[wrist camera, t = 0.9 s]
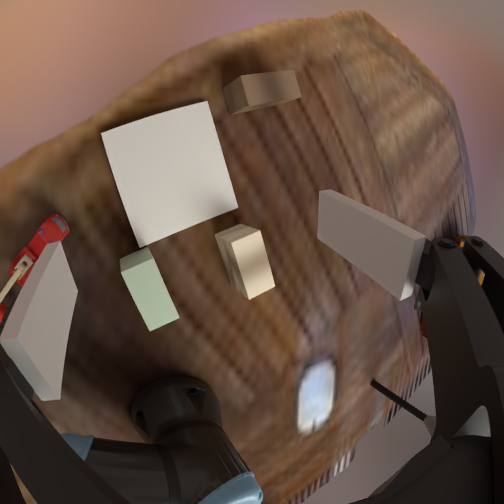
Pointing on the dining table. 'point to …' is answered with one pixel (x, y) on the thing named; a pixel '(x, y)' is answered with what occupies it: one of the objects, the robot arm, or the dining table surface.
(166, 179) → the grey plate
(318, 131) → the dining table surface
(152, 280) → the sage brick
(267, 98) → the walnut brick
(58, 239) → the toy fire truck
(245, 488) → the robot arm
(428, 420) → the solar garden light
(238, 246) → the birch brick
